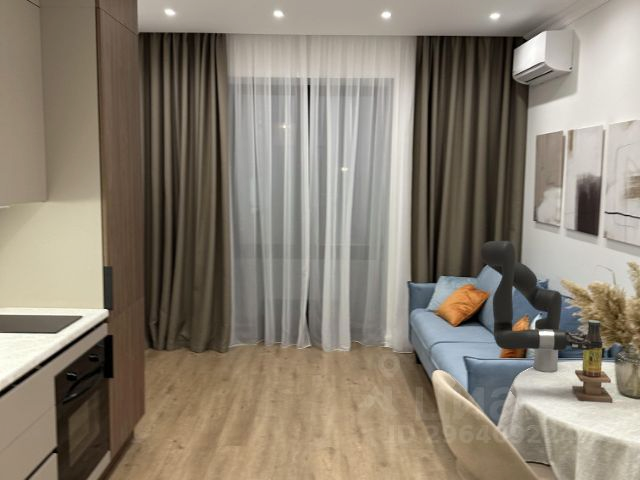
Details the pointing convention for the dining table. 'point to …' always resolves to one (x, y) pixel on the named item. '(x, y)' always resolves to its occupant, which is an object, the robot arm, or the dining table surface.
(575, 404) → the dining table surface
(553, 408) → the dining table surface
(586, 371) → the sauce bottle
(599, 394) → the walnut pedestal
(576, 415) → the dining table surface
